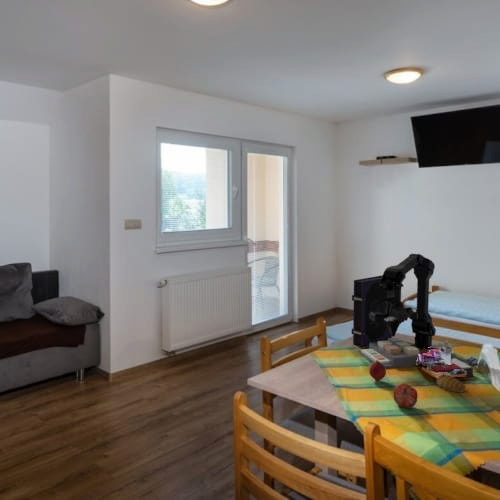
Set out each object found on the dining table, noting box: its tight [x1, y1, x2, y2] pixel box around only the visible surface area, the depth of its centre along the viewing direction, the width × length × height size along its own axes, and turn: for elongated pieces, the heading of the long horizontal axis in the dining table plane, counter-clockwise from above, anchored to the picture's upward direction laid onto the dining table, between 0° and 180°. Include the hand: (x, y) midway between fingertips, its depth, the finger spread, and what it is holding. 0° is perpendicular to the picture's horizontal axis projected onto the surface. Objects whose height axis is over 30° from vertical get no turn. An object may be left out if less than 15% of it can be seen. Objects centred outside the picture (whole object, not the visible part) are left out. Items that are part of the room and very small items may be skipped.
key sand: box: [403, 345, 420, 355], centre depth 188 cm, size 4×4×3 cm
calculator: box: [431, 357, 474, 378], centre depth 176 cm, size 11×4×15 cm
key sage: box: [395, 341, 411, 351], centre depth 194 cm, size 4×4×3 cm
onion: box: [368, 360, 387, 382], centre depth 168 cm, size 6×6×8 cm
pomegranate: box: [392, 383, 419, 409], centre depth 148 cm, size 7×7×10 cm
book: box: [351, 274, 393, 348], centre depth 218 cm, size 24×6×30 cm, turn 130°
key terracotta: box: [385, 345, 400, 354], centre depth 190 cm, size 4×4×3 cm
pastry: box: [436, 374, 466, 393], centre depth 162 cm, size 9×7×4 cm
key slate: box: [387, 337, 404, 345], centre depth 200 cm, size 4×4×3 cm
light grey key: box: [378, 340, 392, 349], centre depth 196 cm, size 4×4×3 cm
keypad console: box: [357, 342, 418, 369], centre depth 193 cm, size 19×21×4 cm
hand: (392, 336), depth 189 cm, fingers closed
